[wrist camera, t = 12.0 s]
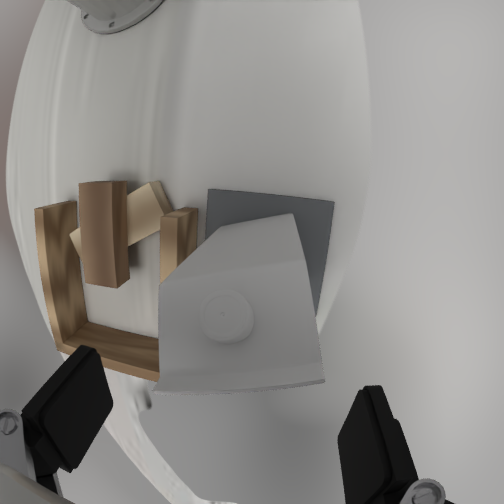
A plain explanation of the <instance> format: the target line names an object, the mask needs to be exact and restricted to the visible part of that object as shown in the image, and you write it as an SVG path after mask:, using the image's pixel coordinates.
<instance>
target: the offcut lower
mask: <svg viewBox="0 0 504 504" xmlns="http://www.w3.org/2000/svg"><path fill="white" fill-rule="evenodd" d="M171 212H173V210H172V207H171V205H170V203H169V201H168V199H167V197H166V195H165V192H164V190H163V188H162V186H161V184H160V181H156V182H149V183H147V184H145V185H144V186H142V187H140V188H139V189H137V190H135V191H134V192H132V193H130V194H129V195H127V238H128V246H130V245H132V244H134V243H135V242H137V241H139V240H141V239H143V238H145V237H147V236H149V235H151V234H153V233H154V232H156V231H158V230H160V217H161V216H164V215H166V214H168V213H171ZM69 235H70V237H71V240H72V242H73V244H74V246H75V248H76V250H77V253H78V255H79V257H80V259H81V261H82V263H83V257H82V246H81V233H80V227H79V228H77V229H76V230H75V231H73V232H72V233H70V234H69Z"/></svg>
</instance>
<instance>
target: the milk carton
mask: <svg viewBox="0 0 504 504" xmlns="http://www.w3.org/2000/svg"><path fill="white" fill-rule="evenodd" d="M158 330H159V369H160V378H159V380H158V381H157V383H156V385H155V387H154V388H153V390H152V391H153V393H154V394H157V395H207V394H230V393H246V392H258V391H267V390H277V389H286V388H293V387H301V386H307V385H314V384H320V383H324V382H325V377H324V371H323V365H322V358H321V351H320V344H319V337H318V331H317V324H316V318H315V311H314V305H313V299H312V293H311V287H310V281H309V276H308V270H307V265H306V260H305V256H304V253H303V249H302V245H301V241H300V237H299V234H298V230H297V226H296V223H295V219H294V216H293V214H292V213H288V214H282V215H277V216H272V217H266V218H261V219H256V220H251V221H245V222H240V223H235V224H230V225H225V226H221V227H219V228H218V229H217V230H216V231H215V232H214V233H213V234H212V235H211V236H210V237H209V238H208V239H207V240H205V241H204V242H203V243H202V244H201V245H200V246H199V247H198V248H197V249H196V250H195V251H194V252H193V253H192V254H191V255H189V256H188V257H187V258H186V259H185V260H184V261H183V262H182V263H181V264H180V265H179V266H178V267H177V268H176V269H175V270H174V271H173V272H172V273H171V274H170V275H169V276H168V277H167V278H166V279H165V280H164V281H163V282H162V283H161V284H160V285H159V306H158Z"/></svg>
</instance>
